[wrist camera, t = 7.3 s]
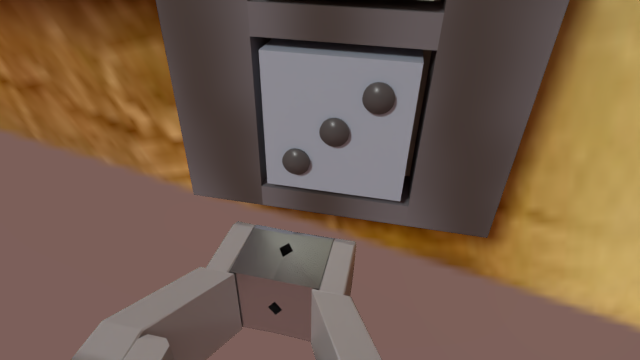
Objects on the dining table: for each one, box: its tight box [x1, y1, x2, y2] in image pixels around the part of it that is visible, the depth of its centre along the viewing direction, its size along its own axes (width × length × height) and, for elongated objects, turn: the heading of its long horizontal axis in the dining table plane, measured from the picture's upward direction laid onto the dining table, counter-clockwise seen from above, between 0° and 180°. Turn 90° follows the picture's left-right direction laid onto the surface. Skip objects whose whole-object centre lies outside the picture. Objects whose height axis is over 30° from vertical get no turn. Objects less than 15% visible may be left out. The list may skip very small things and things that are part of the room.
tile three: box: [259, 38, 424, 201], centre depth 17 cm, size 6×6×3 cm
